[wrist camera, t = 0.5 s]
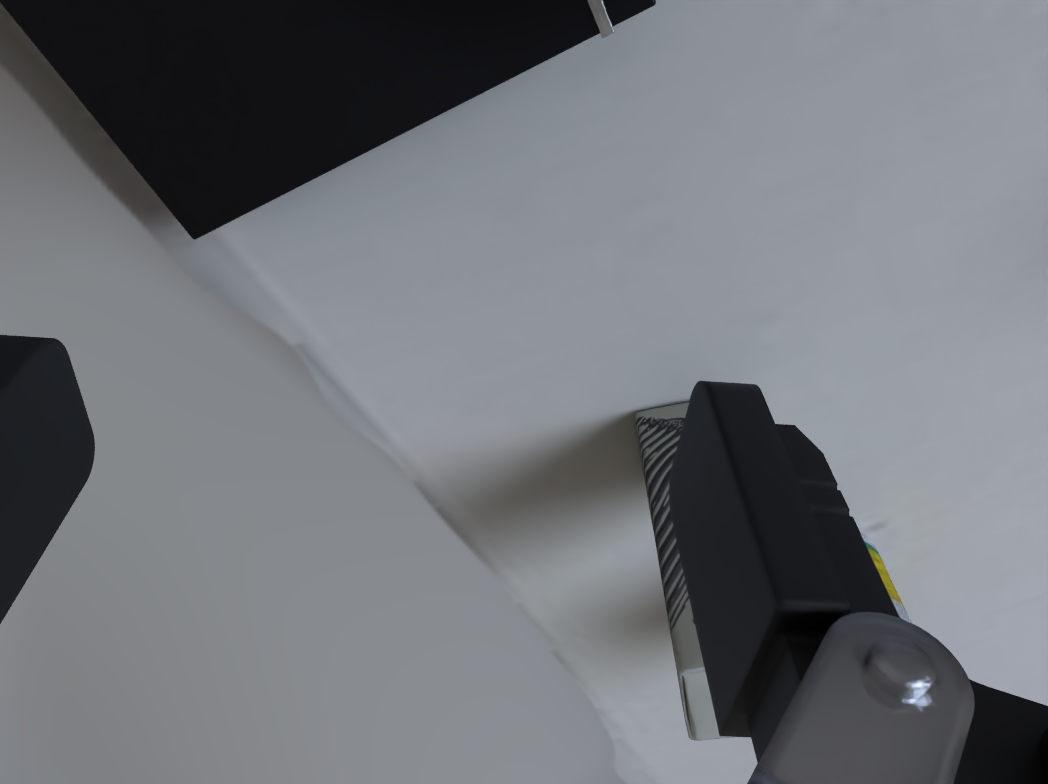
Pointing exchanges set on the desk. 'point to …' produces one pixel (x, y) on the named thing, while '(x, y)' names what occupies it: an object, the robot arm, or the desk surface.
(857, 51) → the desk surface
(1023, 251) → the desk surface
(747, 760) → the desk surface
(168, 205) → the black rectangular base
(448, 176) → the desk surface
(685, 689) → the box
